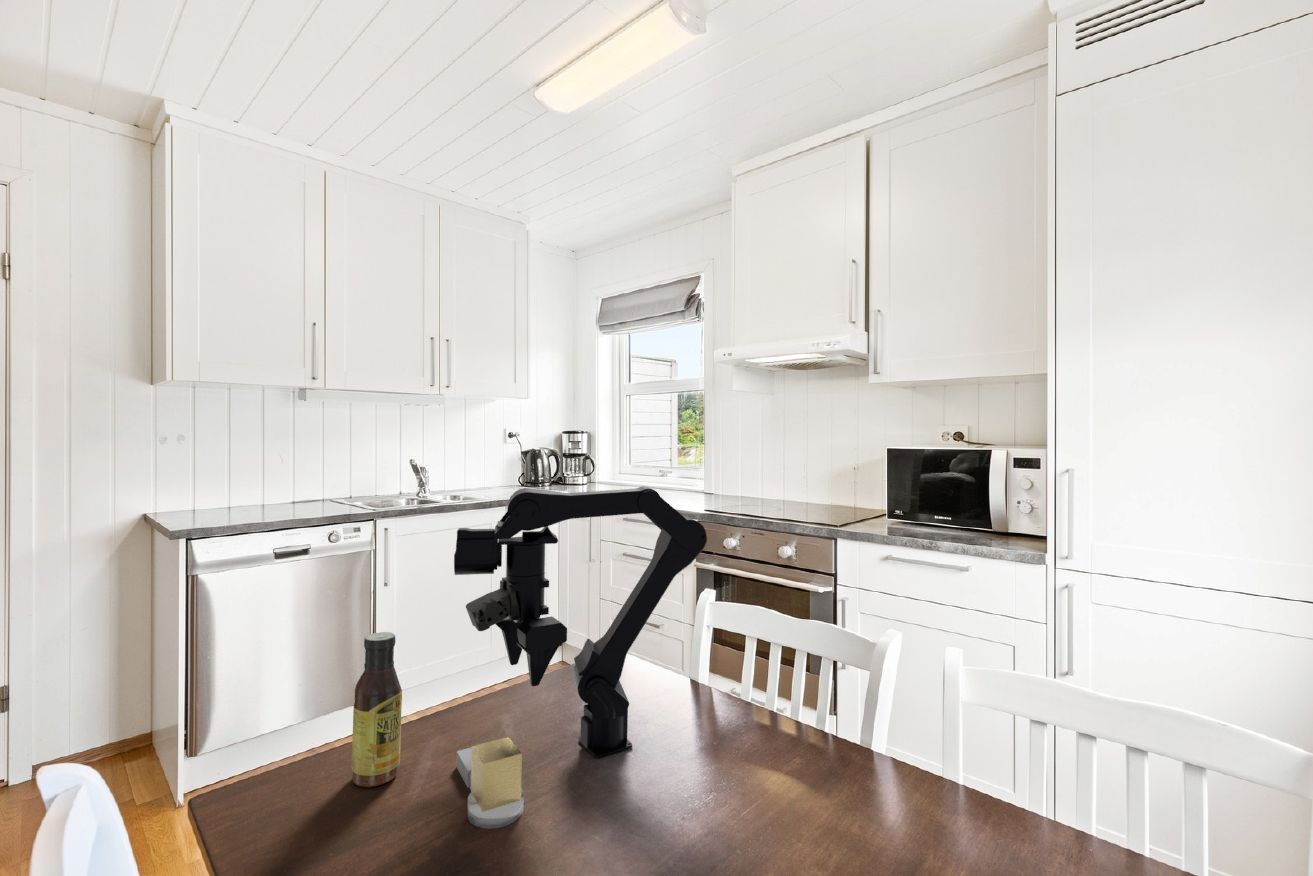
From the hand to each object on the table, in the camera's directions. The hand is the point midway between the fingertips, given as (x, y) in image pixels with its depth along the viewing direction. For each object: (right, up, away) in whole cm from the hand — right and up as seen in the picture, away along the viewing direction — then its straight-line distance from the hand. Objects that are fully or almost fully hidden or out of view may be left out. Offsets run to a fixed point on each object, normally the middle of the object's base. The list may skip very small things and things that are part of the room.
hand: (523, 674), depth 95 cm
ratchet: (-3, -12, -10) cm, 16 cm away
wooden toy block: (-1, -10, -14) cm, 17 cm away
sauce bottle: (-19, -12, -7) cm, 24 cm away
